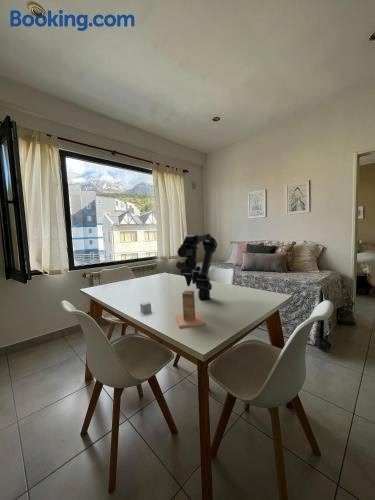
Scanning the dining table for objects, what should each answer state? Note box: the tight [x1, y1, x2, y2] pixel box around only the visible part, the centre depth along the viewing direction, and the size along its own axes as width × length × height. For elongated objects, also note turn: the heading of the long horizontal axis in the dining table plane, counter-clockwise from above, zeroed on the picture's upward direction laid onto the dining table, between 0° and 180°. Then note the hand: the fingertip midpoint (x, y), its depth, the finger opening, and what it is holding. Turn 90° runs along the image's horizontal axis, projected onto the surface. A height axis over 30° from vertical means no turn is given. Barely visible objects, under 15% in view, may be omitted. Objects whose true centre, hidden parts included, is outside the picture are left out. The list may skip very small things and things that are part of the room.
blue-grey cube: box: [139, 300, 152, 314], centre depth 112 cm, size 4×4×4 cm
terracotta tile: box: [174, 312, 206, 329], centre depth 98 cm, size 12×12×1 cm
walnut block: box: [181, 290, 196, 321], centre depth 97 cm, size 4×4×13 cm
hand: (191, 284), depth 115 cm, fingers open, 9 cm apart
